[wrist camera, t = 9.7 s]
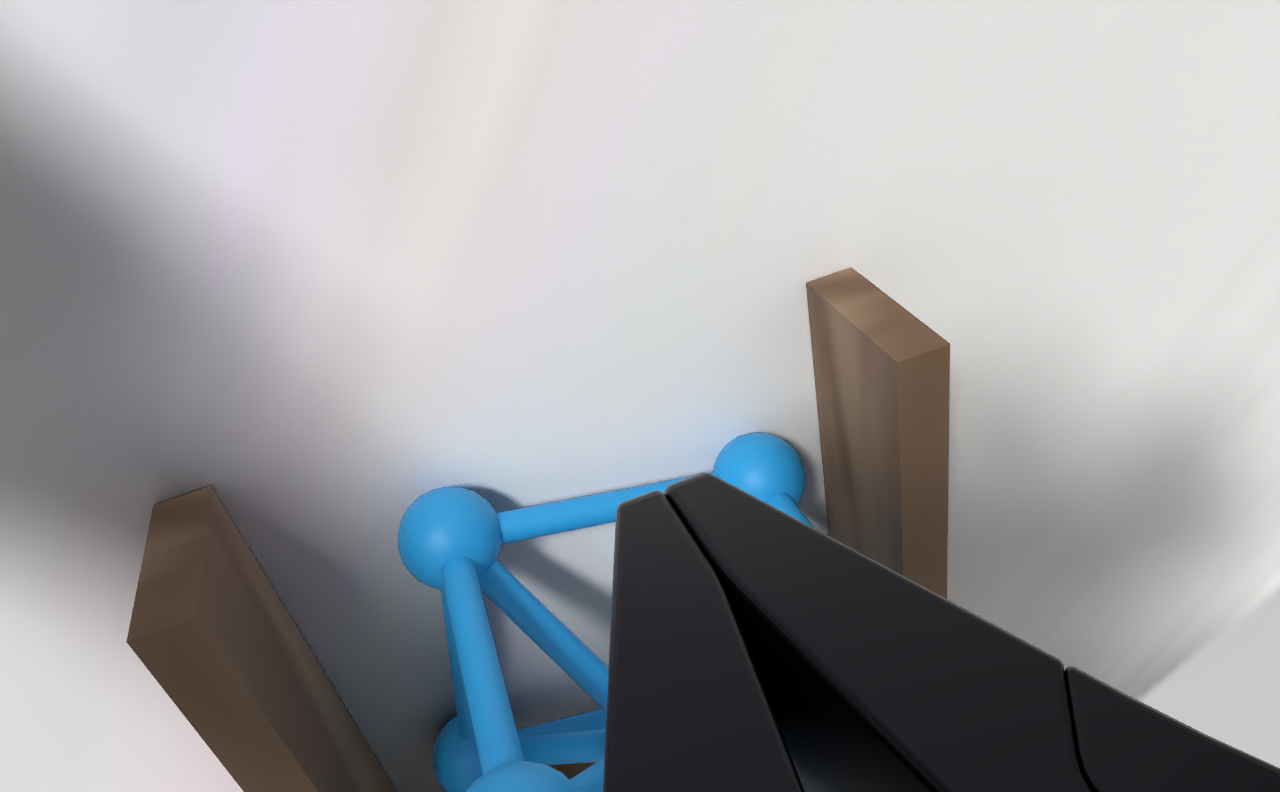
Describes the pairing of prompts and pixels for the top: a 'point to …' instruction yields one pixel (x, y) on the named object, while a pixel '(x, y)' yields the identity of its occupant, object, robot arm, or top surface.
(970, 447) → the top surface
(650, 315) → the top surface
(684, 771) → the robot arm
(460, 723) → the molecular structure
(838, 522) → the box
